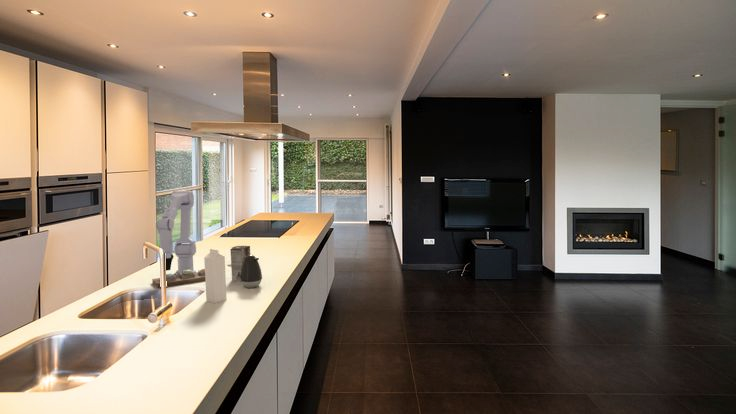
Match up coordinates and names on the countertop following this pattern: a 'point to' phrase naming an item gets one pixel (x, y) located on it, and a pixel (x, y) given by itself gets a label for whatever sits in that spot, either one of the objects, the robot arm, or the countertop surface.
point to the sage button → (187, 272)
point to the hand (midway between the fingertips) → (167, 270)
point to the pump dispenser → (250, 272)
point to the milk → (215, 277)
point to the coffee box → (238, 260)
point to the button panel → (181, 279)
